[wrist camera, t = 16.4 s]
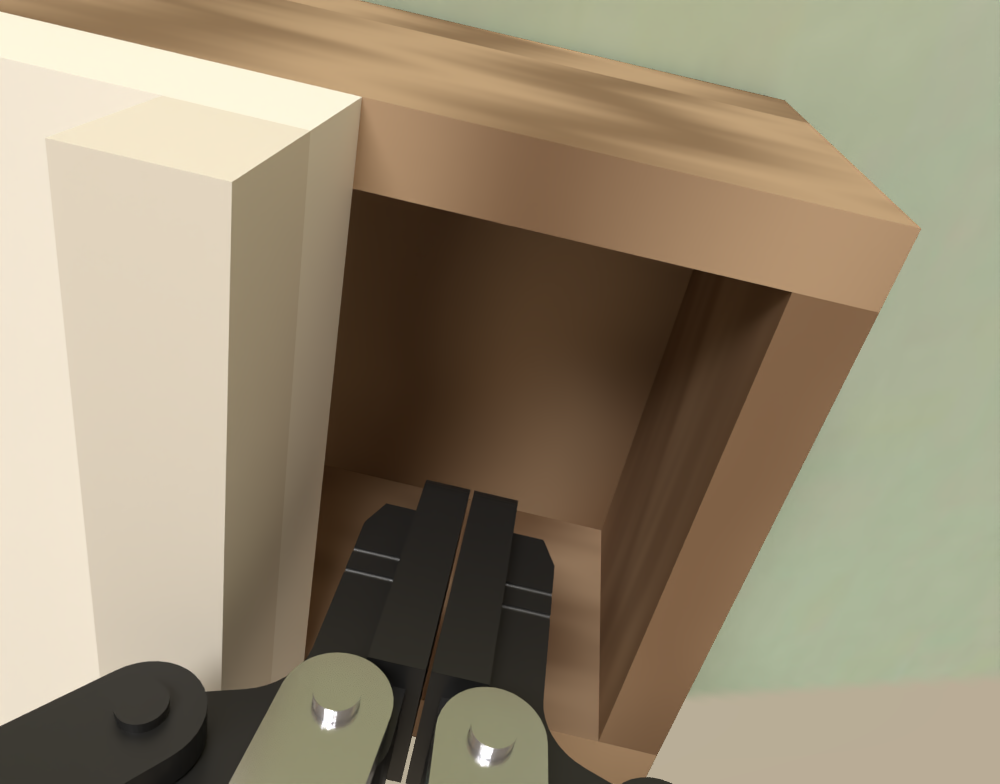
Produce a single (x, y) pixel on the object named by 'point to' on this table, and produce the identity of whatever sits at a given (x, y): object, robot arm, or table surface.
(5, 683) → the lid
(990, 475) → the table surface
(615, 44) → the table surface
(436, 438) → the box
